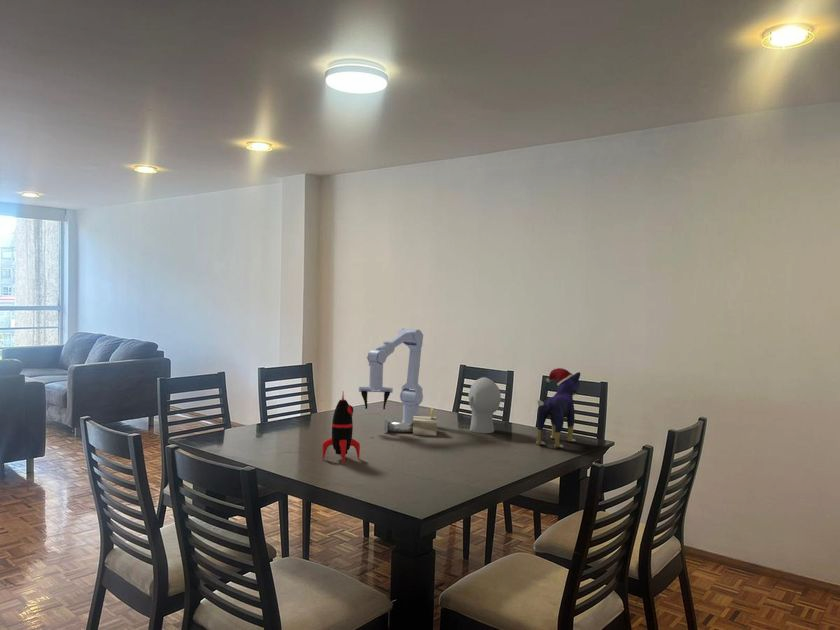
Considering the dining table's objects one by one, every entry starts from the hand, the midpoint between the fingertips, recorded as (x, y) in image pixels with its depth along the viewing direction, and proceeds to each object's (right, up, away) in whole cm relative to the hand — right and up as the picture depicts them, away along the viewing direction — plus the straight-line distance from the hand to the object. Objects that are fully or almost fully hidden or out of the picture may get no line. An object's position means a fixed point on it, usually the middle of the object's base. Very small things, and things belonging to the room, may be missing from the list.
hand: (375, 408), depth 270 cm
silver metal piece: (+11, -10, +1) cm, 15 cm away
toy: (+74, -13, -10) cm, 76 cm away
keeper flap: (+25, -4, +1) cm, 25 cm away
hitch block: (+21, -11, +1) cm, 24 cm away
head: (+47, -11, +9) cm, 49 cm away
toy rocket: (-9, -11, -47) cm, 49 cm away
